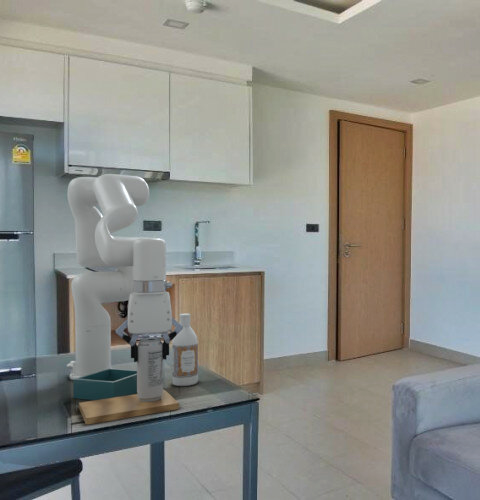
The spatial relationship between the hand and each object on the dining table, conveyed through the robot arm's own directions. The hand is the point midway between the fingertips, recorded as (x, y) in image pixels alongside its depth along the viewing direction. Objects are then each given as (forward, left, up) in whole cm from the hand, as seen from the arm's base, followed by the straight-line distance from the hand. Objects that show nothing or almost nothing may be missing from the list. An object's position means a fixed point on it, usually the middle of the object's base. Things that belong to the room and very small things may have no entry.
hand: (150, 359), depth 132 cm
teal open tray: (-17, +6, -11) cm, 21 cm away
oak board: (-3, -4, -11) cm, 12 cm away
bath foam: (-4, +20, -12) cm, 23 cm away
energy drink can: (0, 0, -10) cm, 10 cm away
